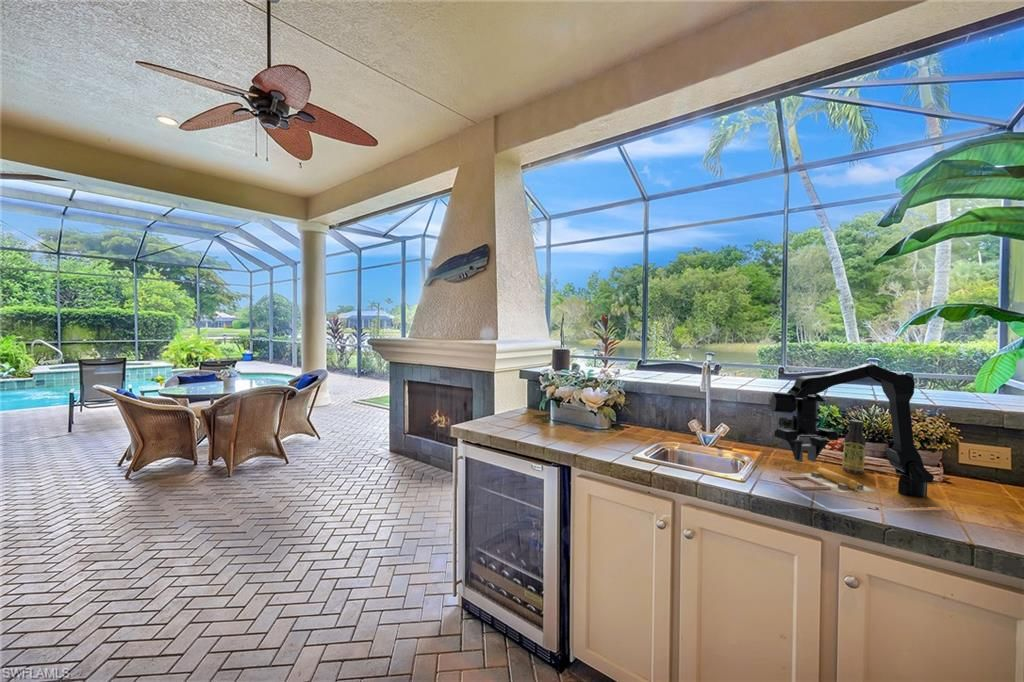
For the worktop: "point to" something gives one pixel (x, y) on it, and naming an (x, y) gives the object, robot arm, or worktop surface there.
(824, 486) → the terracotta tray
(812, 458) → the dark gray horseshoe block
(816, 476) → the cradle board
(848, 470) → the sauce bottle
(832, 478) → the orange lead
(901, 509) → the worktop surface
